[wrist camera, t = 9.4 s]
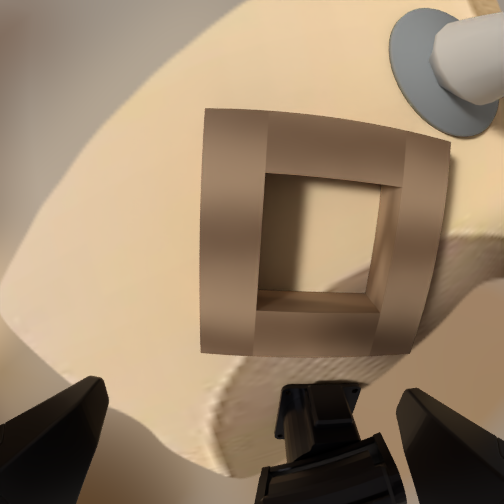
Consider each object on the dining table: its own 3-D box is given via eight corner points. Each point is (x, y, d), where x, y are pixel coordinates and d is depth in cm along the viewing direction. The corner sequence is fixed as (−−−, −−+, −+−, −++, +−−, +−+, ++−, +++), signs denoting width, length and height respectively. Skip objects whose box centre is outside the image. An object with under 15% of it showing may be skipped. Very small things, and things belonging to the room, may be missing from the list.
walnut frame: (394, 332, 21) (409, 353, 19) (206, 328, 21) (200, 352, 18) (426, 142, 17) (450, 142, 15) (212, 116, 17) (204, 108, 14)
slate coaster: (494, 149, 17) (499, 149, 17) (388, 119, 17) (392, 118, 17) (488, 37, 14) (492, 36, 14) (384, -6, 14) (387, -9, 14)
